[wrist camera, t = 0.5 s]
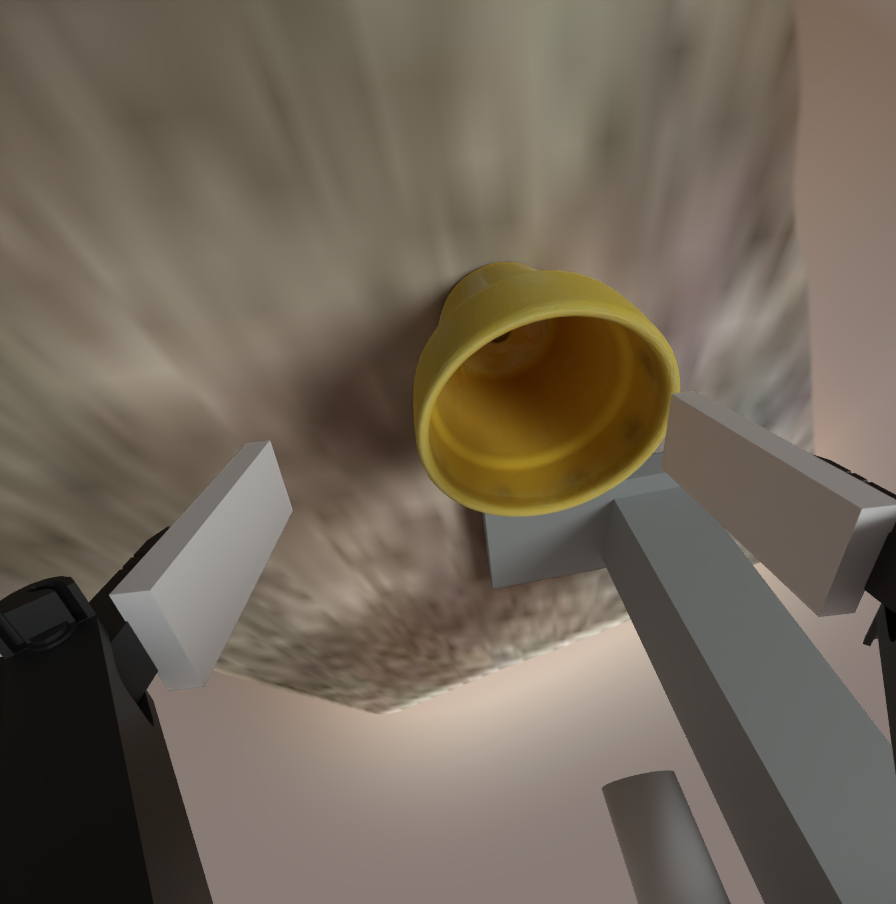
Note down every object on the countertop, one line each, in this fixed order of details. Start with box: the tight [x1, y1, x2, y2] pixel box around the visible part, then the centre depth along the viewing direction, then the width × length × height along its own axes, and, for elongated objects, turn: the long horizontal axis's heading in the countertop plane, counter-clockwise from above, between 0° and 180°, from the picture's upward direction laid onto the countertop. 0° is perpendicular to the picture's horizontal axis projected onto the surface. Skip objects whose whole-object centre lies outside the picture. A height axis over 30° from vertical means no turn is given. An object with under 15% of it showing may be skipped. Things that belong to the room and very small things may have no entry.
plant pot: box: [413, 262, 680, 517], centre depth 20 cm, size 10×10×10 cm
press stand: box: [482, 452, 896, 904], centre depth 25 cm, size 12×17×30 cm
